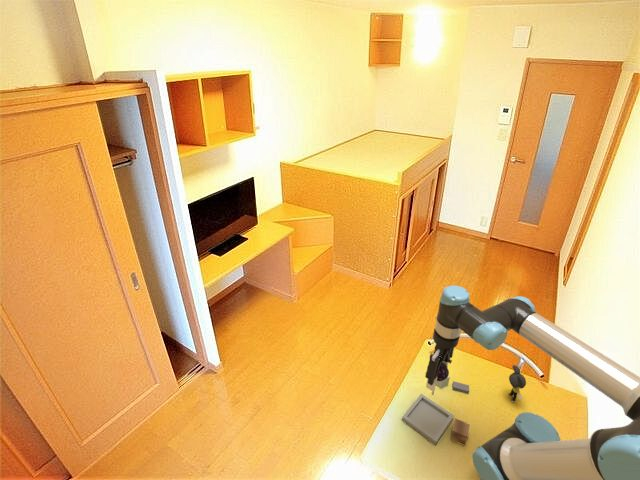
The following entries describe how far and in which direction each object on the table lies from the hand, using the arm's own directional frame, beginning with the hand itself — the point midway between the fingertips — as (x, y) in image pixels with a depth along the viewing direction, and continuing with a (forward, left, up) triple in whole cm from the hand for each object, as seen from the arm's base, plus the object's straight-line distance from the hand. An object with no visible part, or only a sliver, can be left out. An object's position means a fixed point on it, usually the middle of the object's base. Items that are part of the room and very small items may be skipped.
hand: (435, 381), depth 118 cm
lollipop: (0, 0, -7) cm, 7 cm away
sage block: (+4, -18, -20) cm, 27 cm away
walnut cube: (-11, -2, -21) cm, 23 cm away
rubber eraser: (-3, -21, -21) cm, 30 cm away
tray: (0, 0, -20) cm, 20 cm away
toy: (-19, -30, -21) cm, 41 cm away
